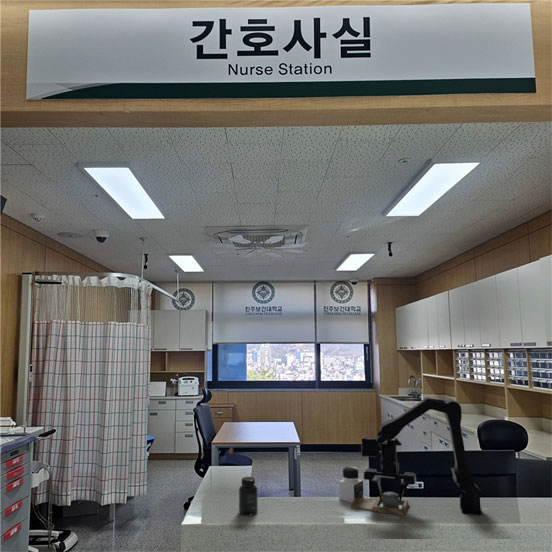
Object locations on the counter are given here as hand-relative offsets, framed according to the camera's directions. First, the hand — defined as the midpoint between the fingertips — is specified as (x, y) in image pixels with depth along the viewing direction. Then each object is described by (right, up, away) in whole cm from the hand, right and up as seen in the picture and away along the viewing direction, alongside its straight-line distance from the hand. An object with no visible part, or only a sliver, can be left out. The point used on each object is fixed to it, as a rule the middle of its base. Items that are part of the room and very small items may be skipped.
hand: (390, 499), depth 182 cm
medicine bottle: (-13, -5, +11) cm, 17 cm away
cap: (0, -3, 0) cm, 3 cm away
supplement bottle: (-53, -3, -3) cm, 53 cm away
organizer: (-4, -3, +1) cm, 5 cm away
